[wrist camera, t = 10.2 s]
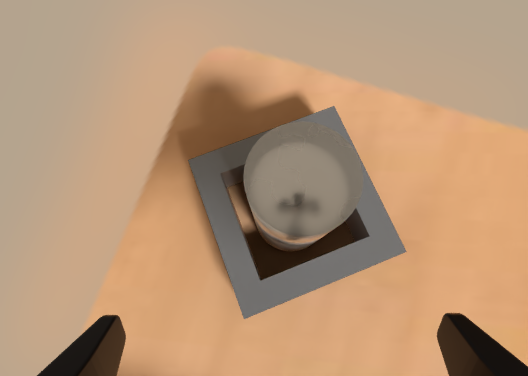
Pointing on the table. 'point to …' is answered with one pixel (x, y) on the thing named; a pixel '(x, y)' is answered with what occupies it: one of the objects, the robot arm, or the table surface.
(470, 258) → the table surface
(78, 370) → the robot arm
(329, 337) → the table surface
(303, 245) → the steel shaft
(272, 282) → the grey square frame
